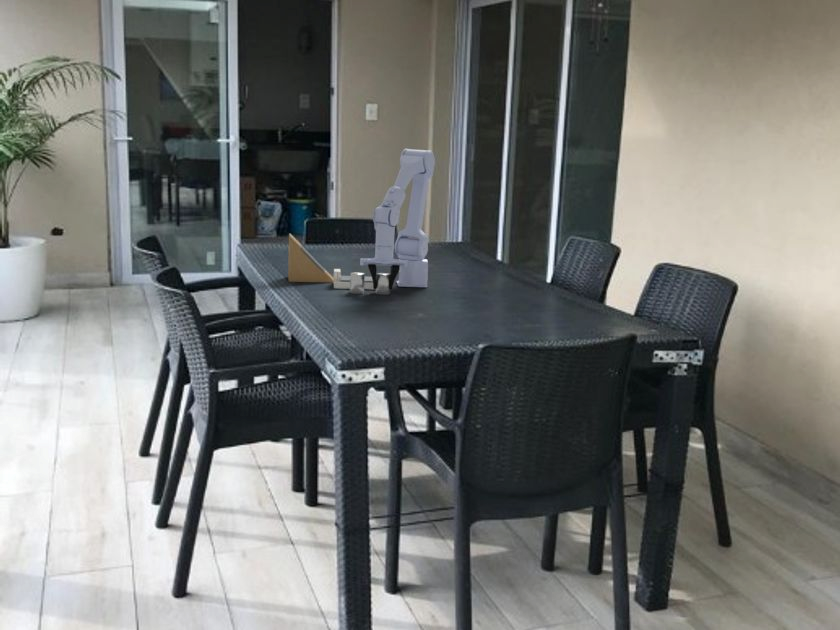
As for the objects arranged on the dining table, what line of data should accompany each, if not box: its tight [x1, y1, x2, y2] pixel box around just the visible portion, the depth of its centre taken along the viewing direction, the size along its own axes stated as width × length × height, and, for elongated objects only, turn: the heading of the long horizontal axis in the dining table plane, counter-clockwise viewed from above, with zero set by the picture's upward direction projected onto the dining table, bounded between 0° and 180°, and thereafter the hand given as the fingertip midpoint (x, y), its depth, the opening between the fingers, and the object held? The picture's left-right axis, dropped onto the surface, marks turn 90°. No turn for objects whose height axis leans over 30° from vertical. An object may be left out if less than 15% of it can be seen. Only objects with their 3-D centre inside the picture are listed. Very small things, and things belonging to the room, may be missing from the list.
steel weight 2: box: [375, 272, 391, 296], centre depth 273 cm, size 4×4×6 cm
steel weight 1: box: [349, 271, 365, 295], centre depth 272 cm, size 4×4×6 cm
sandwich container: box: [287, 233, 334, 283], centre depth 288 cm, size 9×15×15 cm, turn 100°
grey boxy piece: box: [332, 268, 375, 290], centre depth 281 cm, size 14×9×5 cm, turn 97°
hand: (382, 288), depth 273 cm, fingers closed on steel weight 2, 4 cm apart
